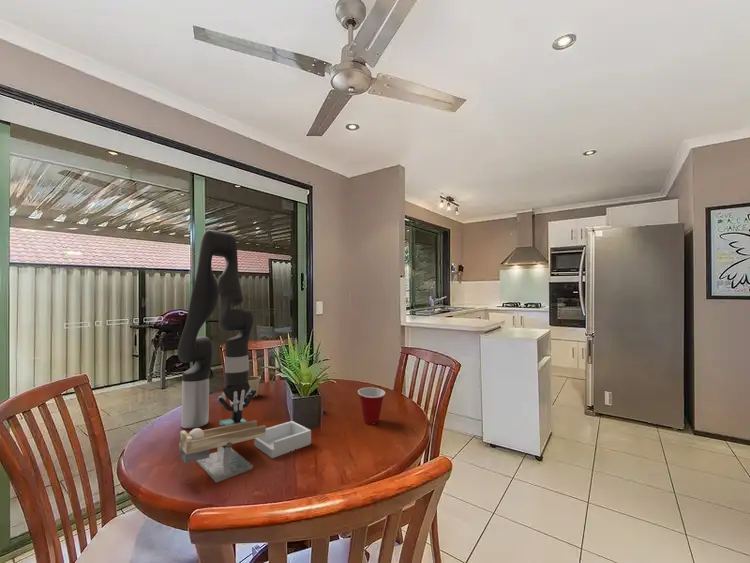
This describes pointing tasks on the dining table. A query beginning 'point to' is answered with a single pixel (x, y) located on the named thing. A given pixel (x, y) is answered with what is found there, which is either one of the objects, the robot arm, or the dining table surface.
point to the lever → (218, 438)
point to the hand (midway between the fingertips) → (236, 421)
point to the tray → (283, 439)
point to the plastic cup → (371, 403)
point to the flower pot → (254, 383)
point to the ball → (196, 434)
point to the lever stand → (224, 464)
